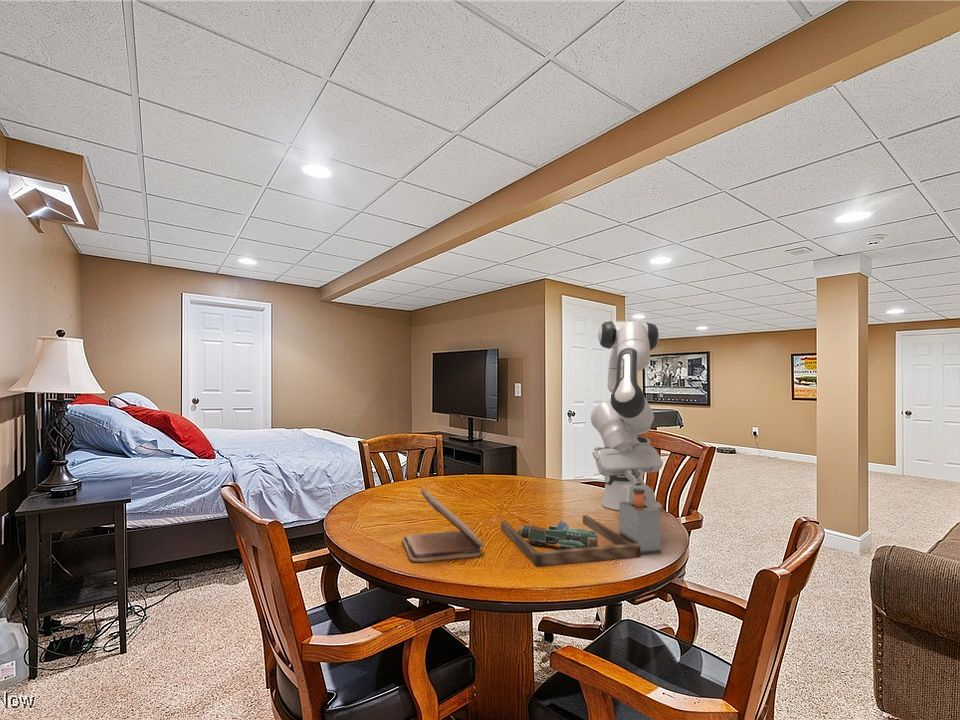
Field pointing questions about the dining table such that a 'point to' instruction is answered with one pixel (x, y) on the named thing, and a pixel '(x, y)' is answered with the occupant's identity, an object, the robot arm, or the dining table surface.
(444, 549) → the case
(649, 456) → the robot arm
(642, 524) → the grey holder box
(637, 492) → the orange and black cylinder
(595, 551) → the brown flat square frame
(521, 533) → the hoverbike
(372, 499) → the dining table surface
